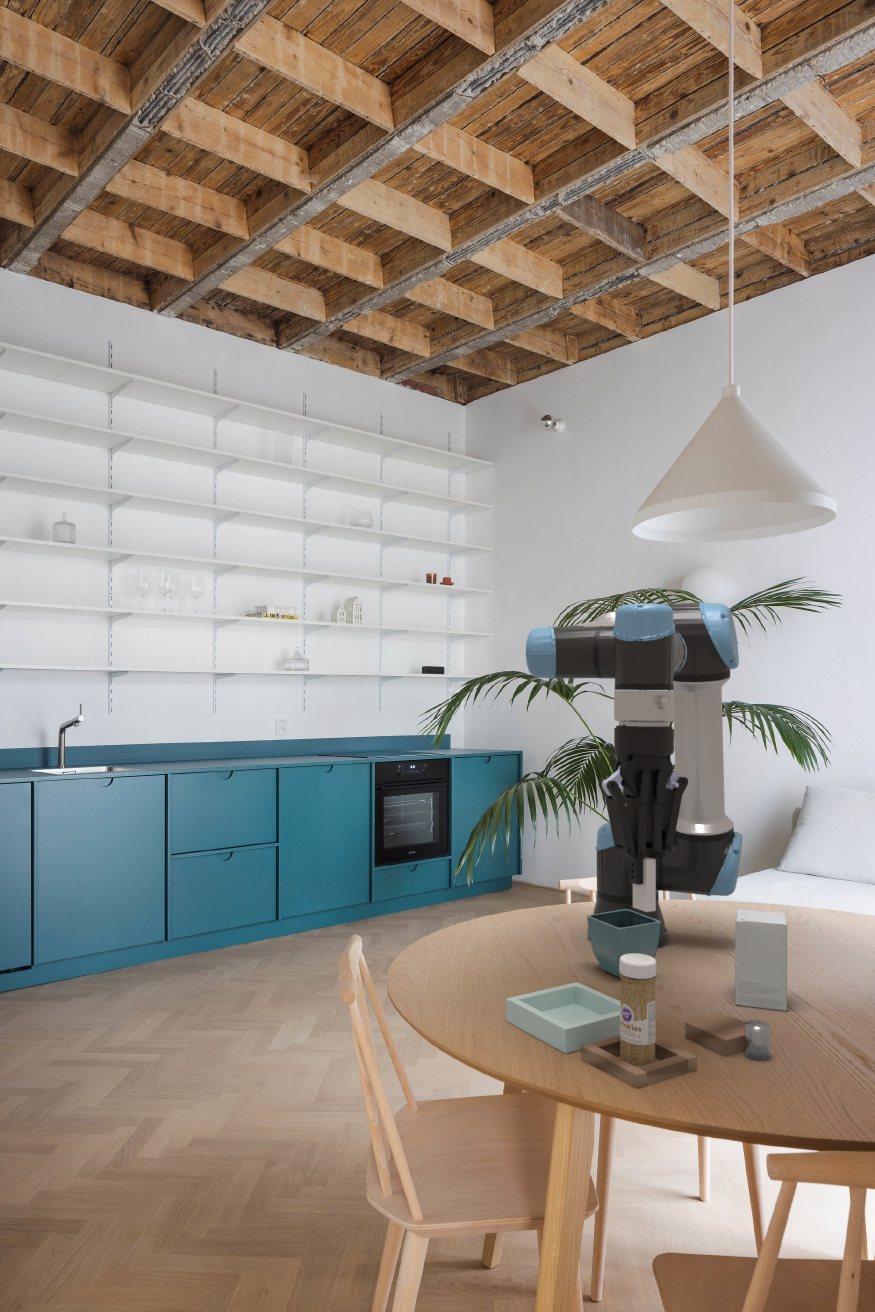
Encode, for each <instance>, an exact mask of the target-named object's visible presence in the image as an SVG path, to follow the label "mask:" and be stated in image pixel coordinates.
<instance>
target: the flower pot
mask: <svg viewBox="0 0 875 1312" xmlns="http://www.w3.org/2000/svg"><path fill="white" fill-rule="evenodd" d="M586 919H587V927H588V928H589V935H590V941H591V942H590V941H589V942H590V946H591V949H592V953H593V955H594V956H595V959H596V960H597V962H598V964H599V966H600V967H601V969H602V970H603V971H605V972H607V973H609V974H611V975H613V976H616V977H617V978H620V979H621V976H620V971H619V961H620V957H621V956H622V955H625V954H631V953H637V954H645V955H649V956H651V957H653V958H654V959H656V956H657V952H658V949H659V948H658V941H659V933H660V925H661V922H660V921H658V920H656V919H653V918H650V917H647V916H645V915H642V914H640V913H637V912H634V911H632V910H628V909H623V910H617V911H611V912H605V913H600V914H593V913H592V914H589V915H587V916H586ZM588 928H587V929H588ZM657 948H658V949H657Z"/></svg>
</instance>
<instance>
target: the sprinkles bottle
mask: <svg viewBox="0 0 875 1312" xmlns="http://www.w3.org/2000/svg"><path fill="white" fill-rule="evenodd" d="M657 968H658V967H657V960H656V958H653V957H651V956H649V955H645V954H637V953H631V954H625V955H622V956H621V957H620V961H619V971H620V976H621V978H620V1002H621V1012H620V1039H621V1044H620V1046H621V1048H620V1055H619V1056H620V1057H619V1058H620V1059H622V1060H624V1061H625V1062H627V1063H629V1064H631V1065H633V1066H635V1067H637V1068H639V1067H642V1066H645V1065H648V1064H651V1063H655V1062H657V1061H656V1058H655V1040H656V1038H657V1036H656V1034H657V1033H656V1032H657V1031H656V1028H657V1027H656V1021H657V1019H656V1018H657V1017H656V1013H657V1012H656V1010H657V1007H656V1003H657V1002H656V979H657Z"/></svg>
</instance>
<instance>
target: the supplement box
mask: <svg viewBox="0 0 875 1312" xmlns="http://www.w3.org/2000/svg"><path fill="white" fill-rule="evenodd" d="M734 932H735V933H734V934H735V936H734V939H735V940H734V941H735V942H734V943H735V944H734V949H735V950H734V951H735V952H734V954H735V955H734V956H735V958H734V959H735V961H734V963H735V965H734V968H735V972H734V973H735V974H734V982H735V985H734V987H735V988H734V991H735V992H734V996H735V997H734V1000H735V1005H737V1006H743V1007H749V1008H750V1007H751V1008H758V1009H764V1010H774V1011H782V1012H783V1011H784V1012H787V1010H788V921H787V915H786V913H785V912H780V911H778V912H777V911H776V912H775V911H765V910H764V911H763V910H752V909H751V910H750V909H736V915H735V930H734Z"/></svg>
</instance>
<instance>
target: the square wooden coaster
mask: <svg viewBox="0 0 875 1312" xmlns="http://www.w3.org/2000/svg"><path fill="white" fill-rule="evenodd" d="M745 1022H746V1021H743V1020H741V1019H738V1018H735V1017H734V1016H732V1015H729V1014H726V1013H724V1012H717V1013H713V1014H709V1015H706V1016H703V1017H698V1018H695V1019H693V1020H692V1019H691V1020H689V1021H686V1022H684V1025H685V1026H684V1031H685V1032H684V1035H685V1036H684V1037H685V1039H686V1040H688V1041H691V1042H693V1043H695V1044H697V1045H700V1046H701V1047H704V1048H706V1049H708V1050H710V1051H712V1052H715V1053H717V1054H718V1055H720V1056H723V1057H726V1058H727V1057H731V1056H733V1055H737V1054H740V1053H742V1052H745Z"/></svg>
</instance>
